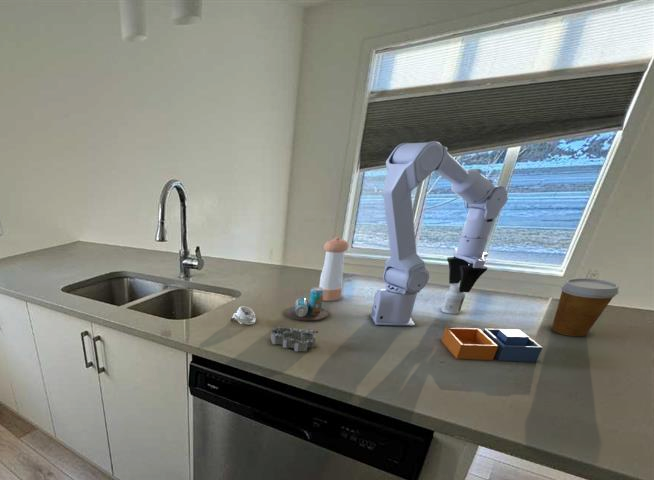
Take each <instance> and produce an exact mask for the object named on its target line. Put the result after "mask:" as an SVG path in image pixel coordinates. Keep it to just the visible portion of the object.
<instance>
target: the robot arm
mask: <svg viewBox="0 0 654 480" xmlns="http://www.w3.org/2000/svg"><path fill="white" fill-rule="evenodd" d="M385 166H386V167H385V168H386V177H385V181H384V185H383V189H382V196H383V197H382V198H383V205H384V212H385V213H384V214H385V220H386V221H385V222H386V227H387V236H388V243H389V244H388V245H389V252H390V257H389V258H388V259H387V260H385V261H384V270H383V273H382V279H383V282H384V283H385V288H382V289H377V290H376V292H375V295H374V299H373V304H372V307H371V308H372V309H371V313H370V317H371V319H372V321H373V322H374V324H375V325H376V326H402V327H403V326H406V327H407V326H408V327H415V322H414V321H413V319H412V318H411V317H412V314H413V311H414V307H415V303H416V299H417V295H418V293H420V291H422V290H423V289H424V288H425V287H426V286H427V284H428V282H429V281H430V280H429V279H430V273H429V271H428V269H426V265H425V264H426V263H425V261H424V260H423V258H421V257H420V255H419V254H418V253H417V244H416V234H415V222H414V212H413V201H412V192H413V190H415V189H416V188H418V186H419V185H420V184H422V183H423V182H424V181H425V180H426V179H427V178H428V177H429V176H430V175H431V174H432V173H435V174H437V175H438V176H440V177H442V178H443V179H445V180H446V181H447V182H449V183H451V186H450V189H451V192H452V193H454V194H455V195H456V196H458V197H459V198H460V199H462V200H463V201H464V206H465V208H466V209H468V212H467V216H466V218H465V221H464V225H463V229H462V232H461V236H460V239H459V241H458V245H457V247H454V250H453V252H452V255H453V256H448V257H447V258H446V261H447V264H448V269H449V270H448V272H449V273H448V274H449V275H448V283H449V285H451V284H454V283H459V284H460V286H459V292H464V293H470V292H471V290H472V288H473V286H474V285H475V284H476V282H477V281H478V280H479V278H481V276H482V275H483V274H484V273H485V272H487V270H488V267H487V266H485V264H486V260H485V258H487V257H488V256H489V253H488V252H485V249H486V246H487V244H488V240H489V236H490V234H491V231H492V229H493V225H494V221H495V219H497V217H498V216H499V215H500V211H501V210H502V209H503V207H505V205H506V203H507V202H508V200H509V197H508V191H507V189H506V188H505V186H501V185H495V184H494V180H493V179H490V178H487V177H486V176H485V175H483V174H482V173H483V170H482V169H481V168H468V169H465V168H464V167H463V166H462V165H461V164H460V163H459V162H458V161H457V159H455V158H454V157H453V156H452V155H451V154H450V153H449V152H448V147H447V146H444V145H442V144H441V143H440V142H439V141H437V140H436V141H435V140H434V141H429V142H428V141H427V142H403V143H400V144H398V145H397V146H396V147H395V148H394V149H393V150H392V152H391V153H390V155H389V156H388V158H387V159H386V161H385Z"/></svg>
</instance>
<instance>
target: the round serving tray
mask: <svg viewBox="0 0 654 480" xmlns="http://www.w3.org/2000/svg"><path fill="white" fill-rule="evenodd" d="M323 294H324V291H323V288H321V287H318V286H314V287H311V289H310V292H309V299H306V297H299V298H297V299H296V300H295V302H294V306H293V307H289V308H288V309H286V311H285V316H286V317H287V318H289V319H291V320H293V321H298V322H319V321H322V320H325V319H327V318H328V316H329V313H328V311H327V310H325V309H324V308H323V307H322V306H323V301H324V300H323Z"/></svg>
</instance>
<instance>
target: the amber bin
mask: <svg viewBox="0 0 654 480" xmlns="http://www.w3.org/2000/svg"><path fill="white" fill-rule="evenodd" d="M441 342H442V343H443V344H444V346H445V347H446V348H447V349H448V350H449V352H450V353H451V354H452V355H453V356H454V358H455V359H456V360H483V361H493V360H494V358H495V357H494V356H495V353H496V351H497V348H498V345H497V344H495V343H494V342H493V341H492V340H491V339H490V338H489V337H488V336H487V335H486V334H485V333H483V330H482V329H481V328H475V327H473V328H471V327H445V329H444V330H443V335H442V338H441Z"/></svg>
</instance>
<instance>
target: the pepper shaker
mask: <svg viewBox="0 0 654 480" xmlns="http://www.w3.org/2000/svg"><path fill="white" fill-rule="evenodd" d="M349 248H350V244H349V242H348V241H347V240H345V239H341V237H339V236H336V237H334V238H333V239H330V240H328V241H326V242H325V244H324V245H323V249H324V251H325V257H324V263H323V267H322V270H321V273H320V278H319V285H318V286H317V287H321V288H323V291H324V294H323V301H325V302H335V301H339V300H340V299H341V297H342V291H343V286H342V284H343V278H344V261H345V254H346V251H348V249H349Z"/></svg>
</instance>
